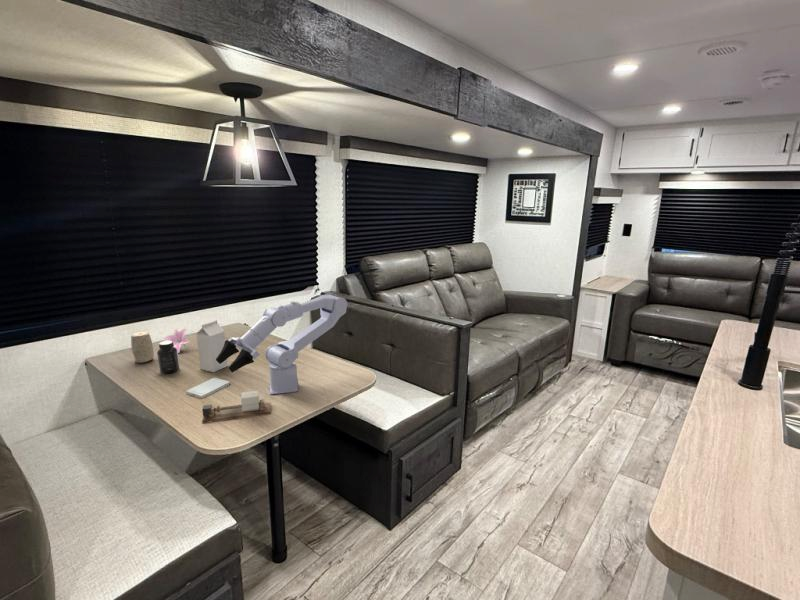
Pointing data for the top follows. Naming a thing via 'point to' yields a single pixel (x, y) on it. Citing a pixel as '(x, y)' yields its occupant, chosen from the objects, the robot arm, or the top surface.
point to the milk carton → (210, 346)
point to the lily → (178, 338)
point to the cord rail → (232, 412)
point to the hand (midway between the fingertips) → (223, 366)
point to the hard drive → (207, 387)
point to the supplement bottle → (168, 358)
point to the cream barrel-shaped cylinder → (142, 347)
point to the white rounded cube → (250, 401)
